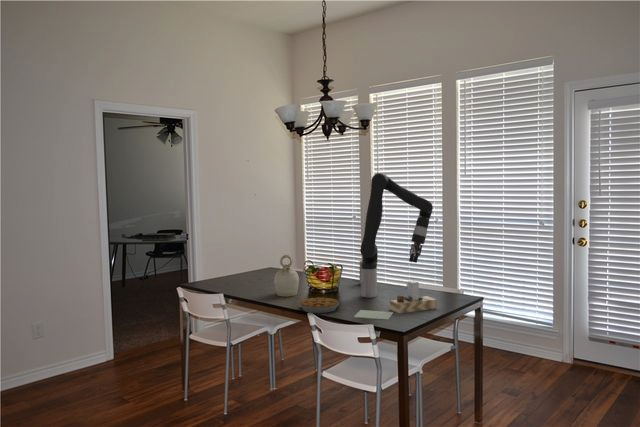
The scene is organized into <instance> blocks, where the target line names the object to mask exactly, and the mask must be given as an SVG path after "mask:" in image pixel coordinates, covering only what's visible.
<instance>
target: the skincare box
mask: <svg viewBox="0 0 640 427" xmlns="http://www.w3.org/2000/svg"><path fill="white" fill-rule="evenodd" d="M361 281H362V260H359V284H360V285H361Z"/></svg>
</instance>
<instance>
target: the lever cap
mask: <svg viewBox="0 0 640 427" xmlns="http://www.w3.org/2000/svg"><path fill="white" fill-rule="evenodd" d="M419 284H420V283H419V281H416V280H409V281H407V297H409V298H412V299H413V301H418V300H419V297H420V291H419V289H420V288H419V287H420V285H419Z"/></svg>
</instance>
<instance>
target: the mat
mask: <svg viewBox="0 0 640 427" xmlns="http://www.w3.org/2000/svg"><path fill="white" fill-rule="evenodd" d="M393 314H394V311H382V310H381V311H380V310H378V311H377V310H366V309H365V310H364V309H360V310H359V311H358V312H357V313H356V314H355V315H354V316H353V318H356V319H368V320H370V319H372V320H383V321H386V320H387V321H389V319H390V318H391V317H392V316H393Z"/></svg>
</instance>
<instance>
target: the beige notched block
mask: <svg viewBox="0 0 640 427" xmlns="http://www.w3.org/2000/svg"><path fill="white" fill-rule="evenodd" d="M437 302H438V301H437V298H434V297H432V296H428V295H424V296H419V300H418V301H413V299H412V298H409V297H408V296H405V295H401V294H400V295H396V299H391V300H389V310H391V312H393V313H394V312H395V313H397V314H404V313H413V312H420V311H427V310H434V309H437V307H438V306H437V305H438V304H437Z"/></svg>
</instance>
